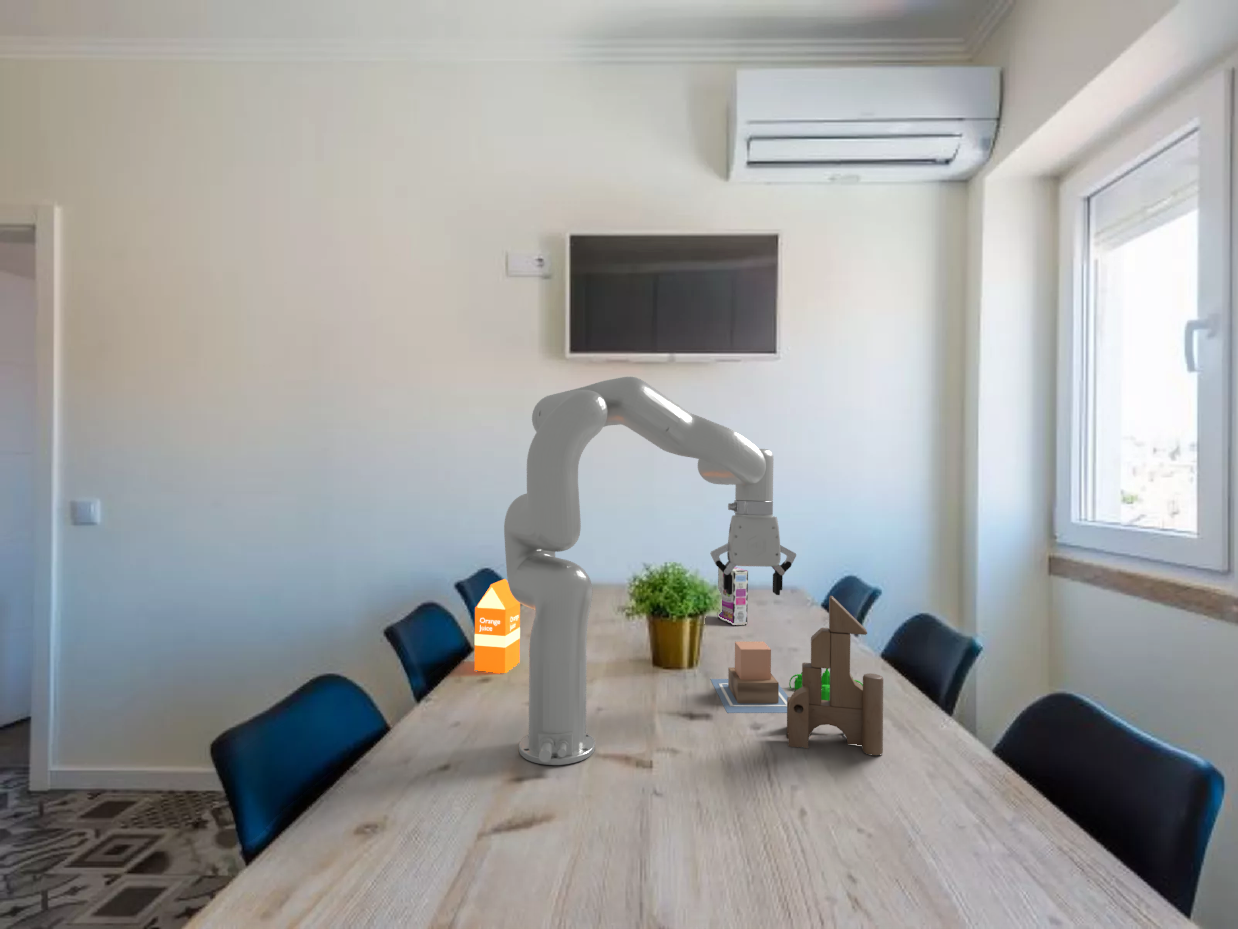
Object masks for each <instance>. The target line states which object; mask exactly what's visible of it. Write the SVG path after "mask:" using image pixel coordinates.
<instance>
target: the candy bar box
mask: <svg viewBox="0 0 1238 929" xmlns="http://www.w3.org/2000/svg"><path fill="white" fill-rule="evenodd" d="M717 568H718V567H717ZM717 573H718V575H717V590H718V589H719V591H720V593H721V595H722V612H721V613H720V614H719V616H720V617H722V618H724V619H727V620H729V621H731V622H732V623H742V622H747V623H748V602H749V601H748V598H749V597H748V595H749V594H748V592H749V589H748V588H749V570H746V569H744V568H740V567H738V566H736V567H735V568H734V569H733V570H732V571H731V575H732V577H733V578H732V594H731V595H728V594H727V593H726V590H724V588H723V578H724V573H723V572H722V571H721V570H720V569H719V568H718V572H717Z"/></svg>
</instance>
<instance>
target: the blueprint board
mask: <svg viewBox="0 0 1238 929" xmlns="http://www.w3.org/2000/svg"><path fill="white" fill-rule="evenodd" d="M710 682H711V683H712V685H713V688H714V689H715V691H716V693H717V695H718V697H719V699H720V701H721V704H722V705H723V707H724V709H725V711H726V713H727V714H787V698H788V697H789V695H788V694H787V693H786V691H784V689H783V688H782V687H781V685H779V701H778V703H737V701H736V699H735V697H734V696H733V694H732V692H731V690H730V689H729V687H728V678H710Z"/></svg>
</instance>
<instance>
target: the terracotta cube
mask: <svg viewBox="0 0 1238 929" xmlns="http://www.w3.org/2000/svg"><path fill="white" fill-rule="evenodd" d="M734 668H735V672H736V673H737V675H738V676H739V678H740V679H741V680H771V674H772V649H771V647H769V646H768V644H767V643H766V642H765V641H734Z"/></svg>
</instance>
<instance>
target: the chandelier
mask: <svg viewBox="0 0 1238 929" xmlns="http://www.w3.org/2000/svg"><path fill="white" fill-rule="evenodd" d="M793 678H794V687H793V688H794V690H795V691H796V690H798V689H799V688H801V687H802V672H801V673H797V674H794V675H793V676H791V677H790V679H789V683H788V686H789V689H792V685H791V681H792V680H793ZM854 680H855V681H856V682H858V683H859V684H861V685H862V686H863V682H862V681H859V680H858V679H854ZM829 695H830V670H829V669H826V668H825V670H824V672H823V673H822V683H821V700H828V701H830V700H829Z"/></svg>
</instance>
